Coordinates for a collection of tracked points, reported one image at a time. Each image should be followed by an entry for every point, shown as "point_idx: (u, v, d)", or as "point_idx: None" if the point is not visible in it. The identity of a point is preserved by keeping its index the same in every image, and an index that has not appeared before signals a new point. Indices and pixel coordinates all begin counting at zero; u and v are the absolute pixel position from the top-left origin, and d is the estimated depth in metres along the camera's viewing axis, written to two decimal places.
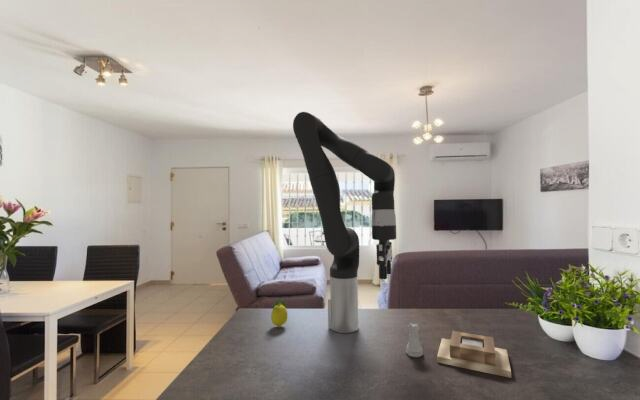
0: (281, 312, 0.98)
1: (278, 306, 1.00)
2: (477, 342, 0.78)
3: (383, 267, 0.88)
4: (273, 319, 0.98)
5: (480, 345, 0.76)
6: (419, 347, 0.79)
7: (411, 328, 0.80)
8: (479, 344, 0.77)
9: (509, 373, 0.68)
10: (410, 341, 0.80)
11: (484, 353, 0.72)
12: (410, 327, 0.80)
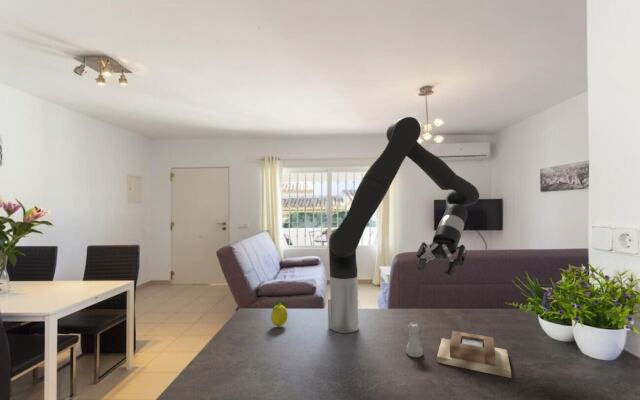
0: (281, 312, 0.98)
1: (278, 306, 1.00)
2: (477, 342, 0.78)
3: (454, 266, 0.87)
4: (273, 319, 0.98)
5: (480, 345, 0.76)
6: (419, 347, 0.79)
7: (411, 328, 0.80)
8: (479, 344, 0.77)
9: (509, 373, 0.68)
10: (410, 341, 0.80)
11: (484, 353, 0.72)
12: (410, 327, 0.80)
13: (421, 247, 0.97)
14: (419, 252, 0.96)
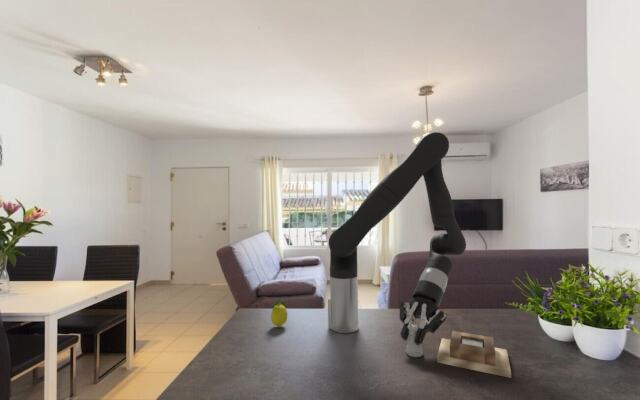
0: (281, 312, 0.98)
1: (278, 306, 1.00)
2: (477, 342, 0.78)
3: (425, 333, 0.79)
4: (273, 319, 0.98)
5: (480, 345, 0.76)
6: (419, 347, 0.79)
7: (411, 328, 0.80)
8: (479, 344, 0.77)
9: (509, 373, 0.68)
10: (410, 341, 0.80)
11: (484, 353, 0.72)
12: (410, 327, 0.80)
13: (401, 308, 0.86)
14: (402, 314, 0.85)
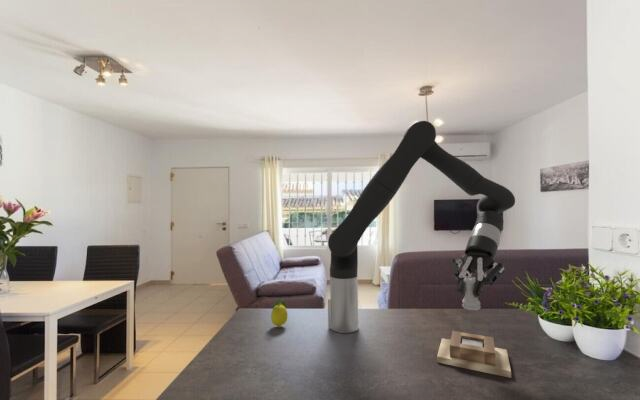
0: (281, 312, 0.98)
1: (278, 306, 1.00)
2: (477, 342, 0.78)
3: (483, 285, 0.76)
4: (273, 319, 0.98)
5: (480, 345, 0.76)
6: (477, 300, 0.77)
7: (468, 281, 0.77)
8: (479, 344, 0.77)
9: (509, 373, 0.68)
10: (467, 294, 0.77)
11: (484, 353, 0.72)
12: (467, 280, 0.77)
13: (453, 264, 0.84)
14: (455, 270, 0.82)
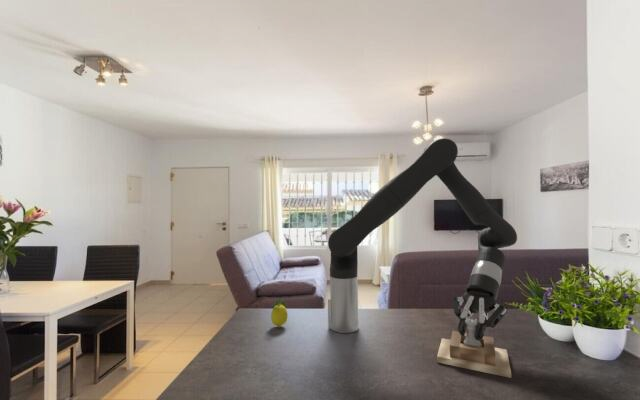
0: (281, 312, 0.98)
1: (278, 306, 1.00)
2: None
3: (485, 327, 0.76)
4: (273, 319, 0.98)
5: None
6: (478, 342, 0.76)
7: (470, 323, 0.77)
8: None
9: (509, 373, 0.68)
10: (469, 336, 0.77)
11: (484, 353, 0.72)
12: (468, 322, 0.77)
13: (455, 302, 0.84)
14: (456, 309, 0.82)
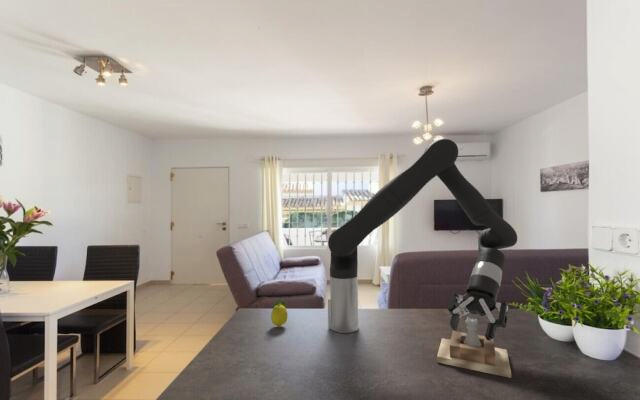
0: (281, 312, 0.98)
1: (278, 306, 1.00)
2: None
3: (496, 327, 0.75)
4: (273, 319, 0.98)
5: None
6: (479, 342, 0.76)
7: (470, 323, 0.77)
8: None
9: (509, 373, 0.68)
10: (469, 336, 0.77)
11: (484, 353, 0.72)
12: (469, 322, 0.77)
13: (453, 298, 0.85)
14: (451, 305, 0.84)
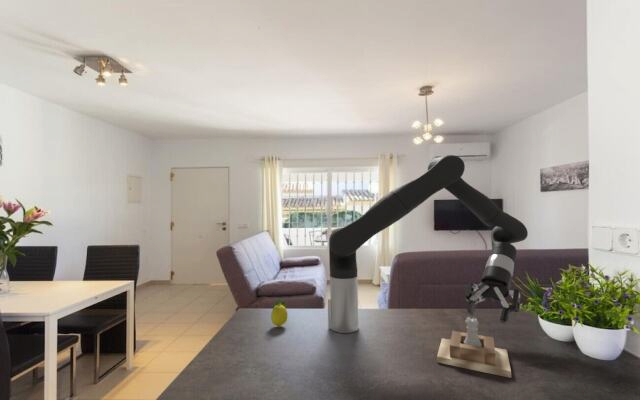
0: (281, 312, 0.98)
1: (278, 306, 1.00)
2: None
3: (509, 312, 0.84)
4: (273, 319, 0.98)
5: None
6: (479, 342, 0.76)
7: (470, 323, 0.77)
8: None
9: (509, 373, 0.68)
10: (469, 336, 0.77)
11: (484, 353, 0.72)
12: (469, 322, 0.77)
13: (469, 287, 0.94)
14: (467, 293, 0.93)
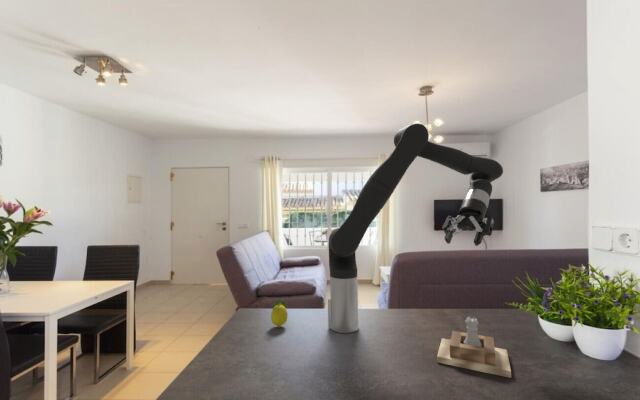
0: (281, 312, 0.98)
1: (278, 306, 1.00)
2: None
3: (482, 235, 0.89)
4: (273, 319, 0.98)
5: None
6: (479, 342, 0.76)
7: (470, 323, 0.77)
8: None
9: (509, 373, 0.68)
10: (469, 336, 0.77)
11: (484, 353, 0.72)
12: (469, 322, 0.77)
13: (447, 220, 0.99)
14: (445, 225, 0.98)
